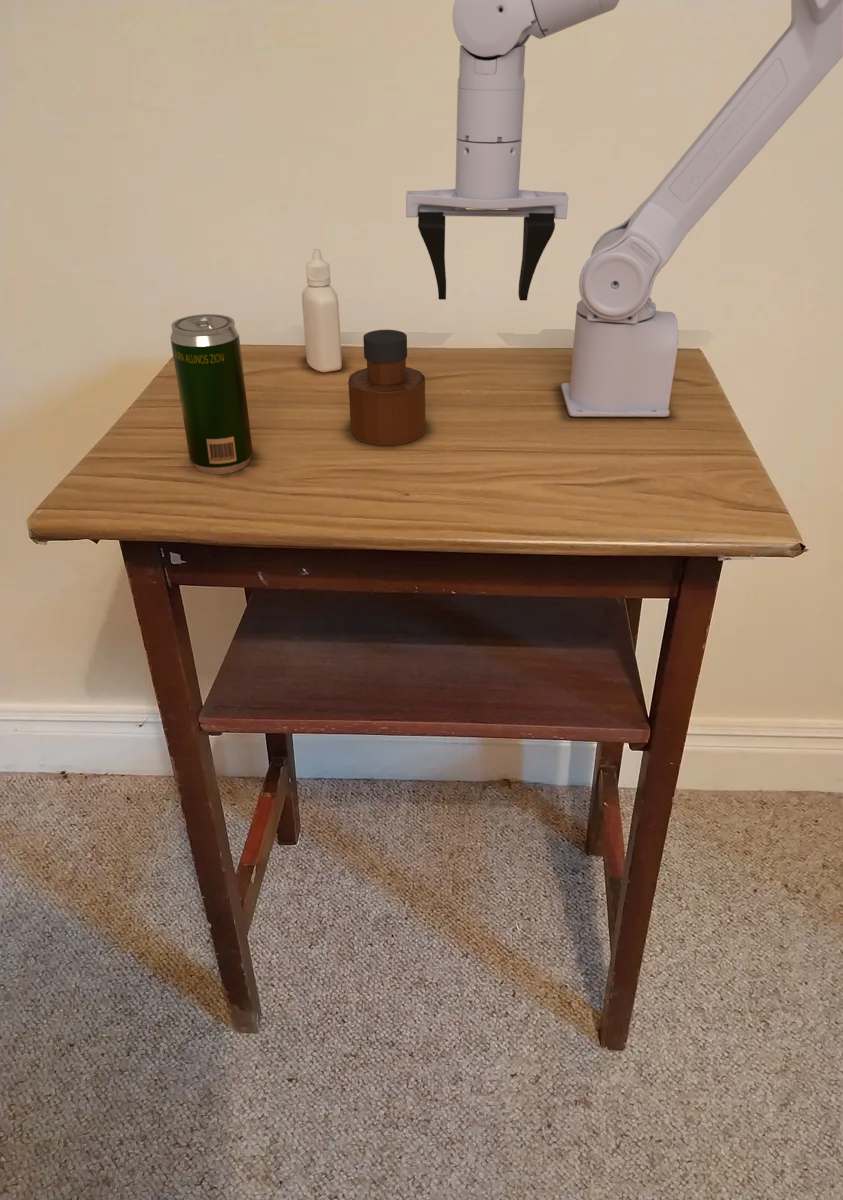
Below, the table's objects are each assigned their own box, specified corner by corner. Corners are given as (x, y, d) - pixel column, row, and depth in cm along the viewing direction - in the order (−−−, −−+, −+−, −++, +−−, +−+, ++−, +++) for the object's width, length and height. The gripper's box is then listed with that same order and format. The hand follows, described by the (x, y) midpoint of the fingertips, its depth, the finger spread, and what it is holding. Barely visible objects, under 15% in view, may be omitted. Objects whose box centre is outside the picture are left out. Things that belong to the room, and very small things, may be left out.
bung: (408, 362, 82) (407, 329, 81) (406, 377, 79) (406, 342, 77) (366, 362, 82) (364, 329, 81) (363, 376, 79) (361, 342, 77)
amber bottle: (425, 416, 87) (425, 344, 83) (424, 445, 81) (423, 369, 77) (354, 416, 87) (351, 344, 83) (348, 445, 81) (344, 369, 77)
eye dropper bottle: (348, 356, 101) (342, 243, 95) (340, 374, 97) (333, 256, 90) (309, 355, 102) (300, 243, 95) (299, 373, 97) (289, 256, 90)
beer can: (261, 468, 77) (245, 327, 71) (199, 480, 75) (177, 337, 69) (243, 445, 81) (226, 310, 75) (183, 456, 79) (161, 318, 73)
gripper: (567, 133, 82) (554, 286, 90) (407, 132, 83) (408, 285, 90) (576, 144, 77) (561, 307, 84) (404, 143, 77) (405, 305, 84)
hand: (482, 297), depth 87 cm, fingers open, 7 cm apart
